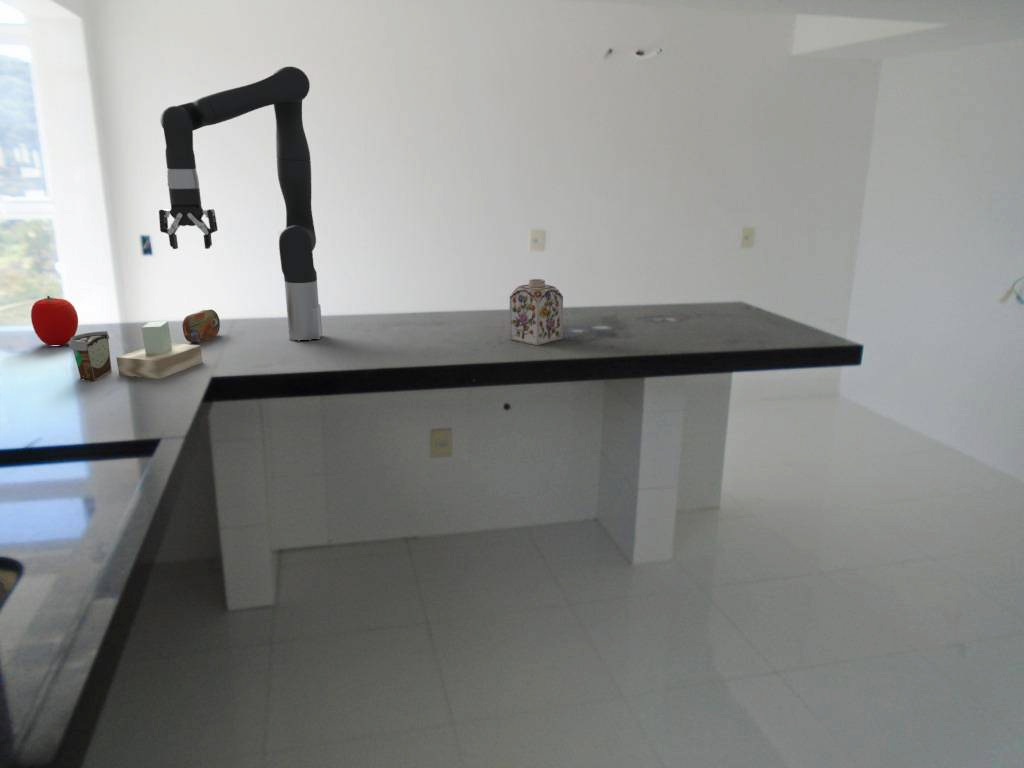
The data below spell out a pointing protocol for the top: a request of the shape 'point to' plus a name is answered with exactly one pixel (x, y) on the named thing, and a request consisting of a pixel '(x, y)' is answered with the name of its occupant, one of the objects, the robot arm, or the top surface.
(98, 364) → the food container
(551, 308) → the decorative jar
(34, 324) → the red apple
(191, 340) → the tin
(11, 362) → the top surface
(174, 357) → the maple block
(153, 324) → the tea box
